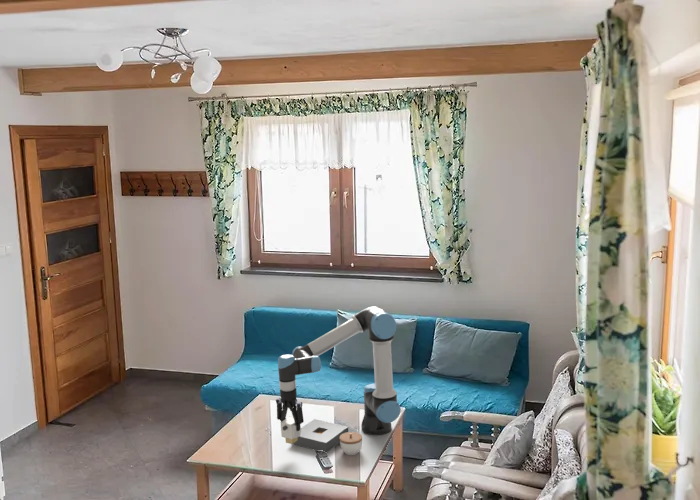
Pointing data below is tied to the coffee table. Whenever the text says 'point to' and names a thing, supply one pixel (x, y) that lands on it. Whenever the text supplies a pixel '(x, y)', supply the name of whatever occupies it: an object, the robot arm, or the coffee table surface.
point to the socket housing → (320, 435)
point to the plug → (289, 430)
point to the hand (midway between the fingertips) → (291, 435)
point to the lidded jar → (351, 442)
